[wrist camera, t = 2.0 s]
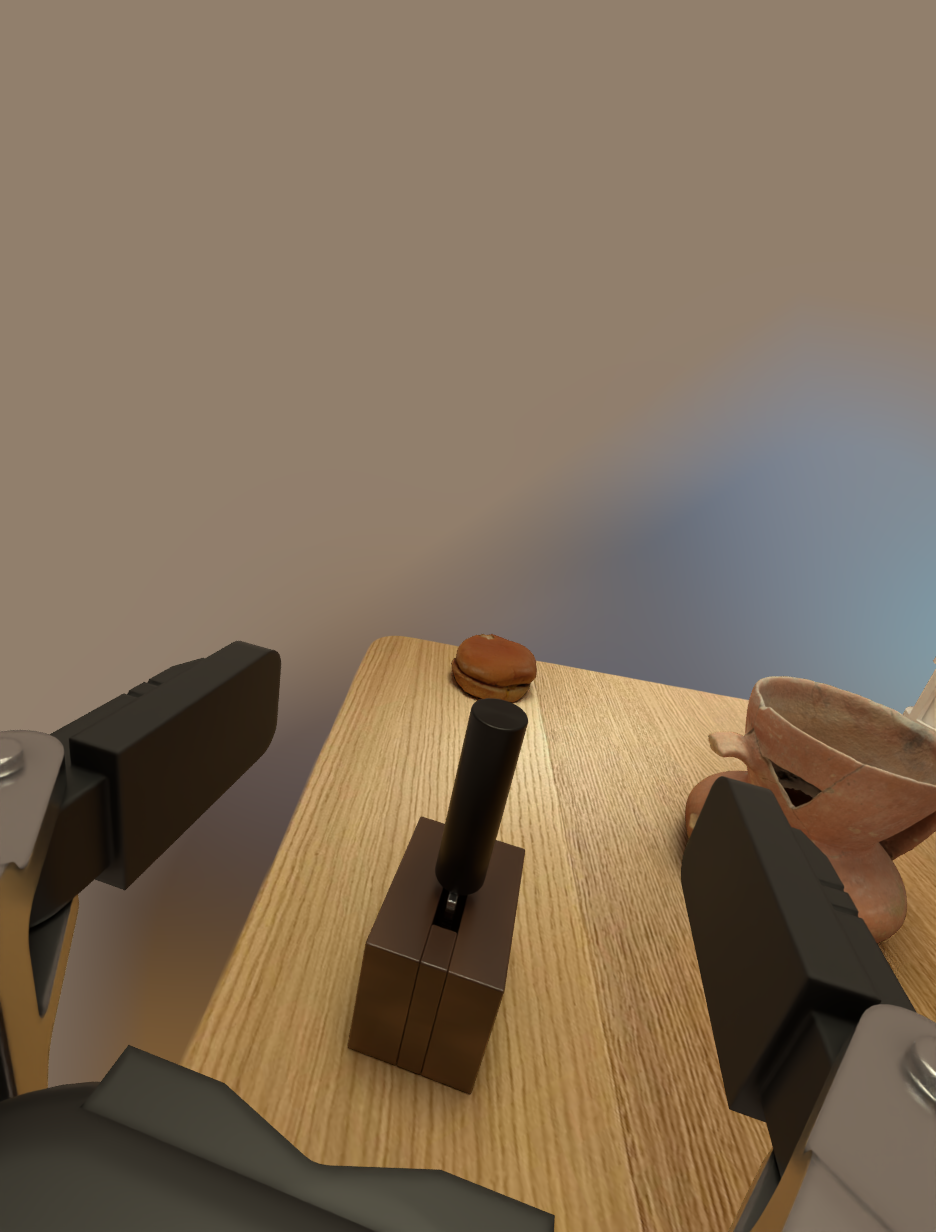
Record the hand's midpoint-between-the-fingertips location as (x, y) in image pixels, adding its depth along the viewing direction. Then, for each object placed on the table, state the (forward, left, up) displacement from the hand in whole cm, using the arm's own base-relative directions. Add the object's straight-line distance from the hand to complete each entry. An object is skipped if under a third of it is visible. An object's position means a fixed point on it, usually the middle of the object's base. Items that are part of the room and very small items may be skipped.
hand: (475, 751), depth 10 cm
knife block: (+2, +11, -23) cm, 25 cm away
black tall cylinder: (+2, +11, -23) cm, 25 cm away
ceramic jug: (+28, +22, -23) cm, 43 cm away
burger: (+7, +46, -23) cm, 52 cm away
